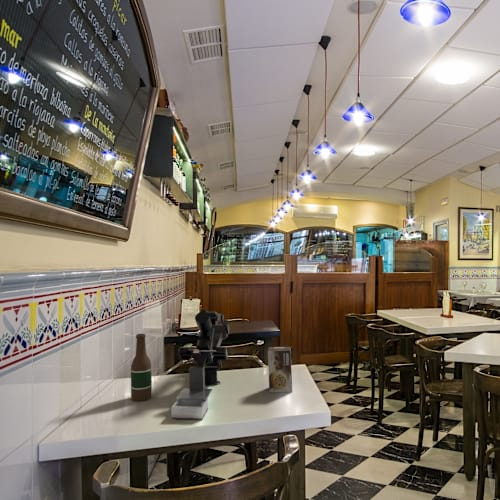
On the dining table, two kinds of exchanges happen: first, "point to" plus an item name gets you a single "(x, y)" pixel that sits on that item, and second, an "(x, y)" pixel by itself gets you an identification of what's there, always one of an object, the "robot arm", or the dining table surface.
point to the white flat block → (189, 409)
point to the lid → (195, 386)
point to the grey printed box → (280, 369)
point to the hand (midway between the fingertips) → (199, 373)
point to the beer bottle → (141, 372)
